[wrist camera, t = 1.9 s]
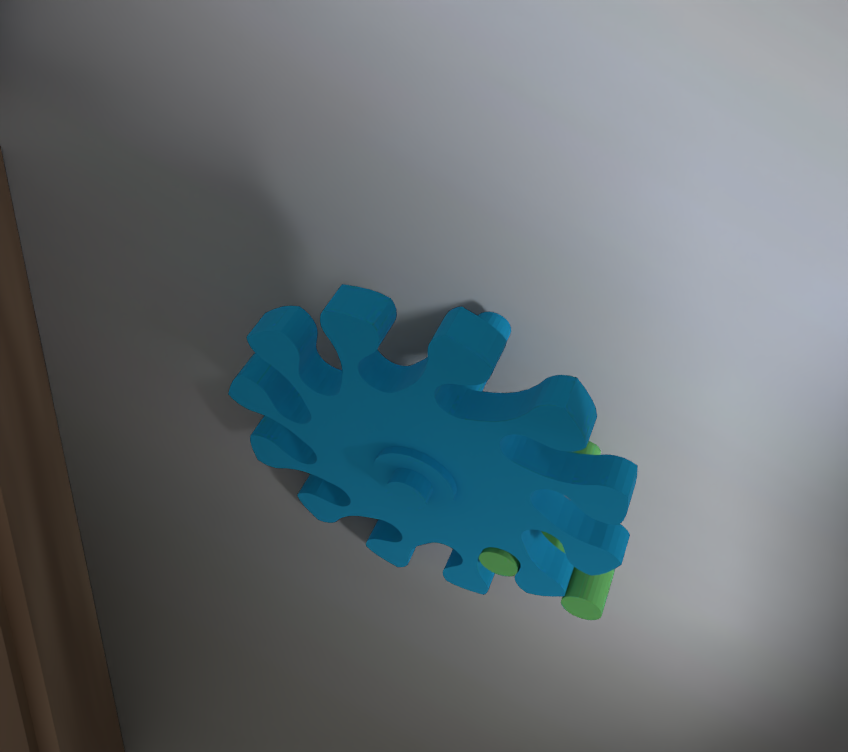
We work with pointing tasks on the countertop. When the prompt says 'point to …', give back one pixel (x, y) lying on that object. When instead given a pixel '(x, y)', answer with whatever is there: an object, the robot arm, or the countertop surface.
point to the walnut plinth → (41, 549)
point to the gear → (441, 449)
